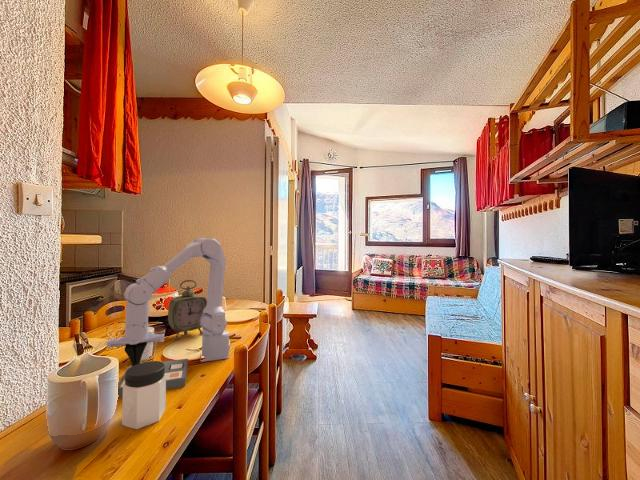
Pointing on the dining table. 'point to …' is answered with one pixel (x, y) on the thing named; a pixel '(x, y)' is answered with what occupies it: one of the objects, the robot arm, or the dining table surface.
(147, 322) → the robot arm
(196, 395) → the dining table surface
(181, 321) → the tabletop clock
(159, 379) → the jar
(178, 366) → the button
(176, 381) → the button board
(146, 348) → the white cup
